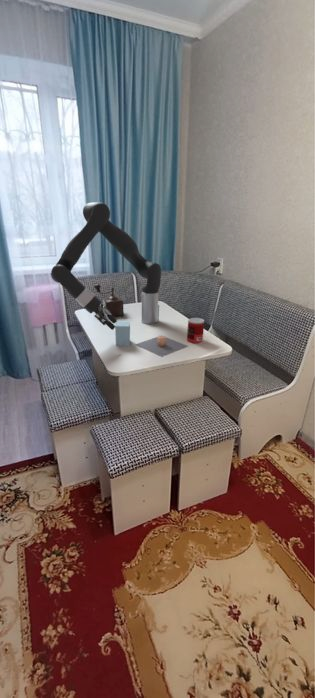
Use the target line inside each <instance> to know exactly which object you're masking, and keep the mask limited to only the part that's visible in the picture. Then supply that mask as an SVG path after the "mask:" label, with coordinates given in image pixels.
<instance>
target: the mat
mask: <svg viewBox="0 0 315 698" xmlns="http://www.w3.org/2000/svg"><path fill="white" fill-rule="evenodd" d="M165 337H166V346H165V347H159V346H158V336H157V337H154V338H150V339H146V340H144V341H140V342H138V343H135V346H137V347H139V348H141V349H143V350H146V351H147V352H150V353H153V354H155V355H156V356H158V357H161V358H163V357H165V356H168V355H170V354H172V353H173V354H174V353H175V352H178V351H180V350H183V349H185V348H188V347H189V345H187V344H184V343H182V342H179V341H176V340H175V339H171V338H170V337H167V336H165Z"/></svg>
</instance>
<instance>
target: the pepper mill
mask: <svg viewBox="0 0 315 698" xmlns="http://www.w3.org/2000/svg"><path fill="white" fill-rule="evenodd" d="M93 289H95V291H96V292H95V293H98V294H100V295H105V294H109V293H111V294H110V296H108V297H103V298H102V299H103V300H102V302H103V303H102V304H103V305H104V306H105V307H106V308H107V309H108V310H109V311H110V312H111V314H112V316H113V317H114V318H116V317H117V318H119V317H124V300H123V299H122V298H121V297H120V296H116V295H114V294H115V293H114V292H115V288H114V287H111V290H109V291H108V290H107V291H103V292H102V291H101V285H100V284H99V283H96V284H94V286H93Z"/></svg>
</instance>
